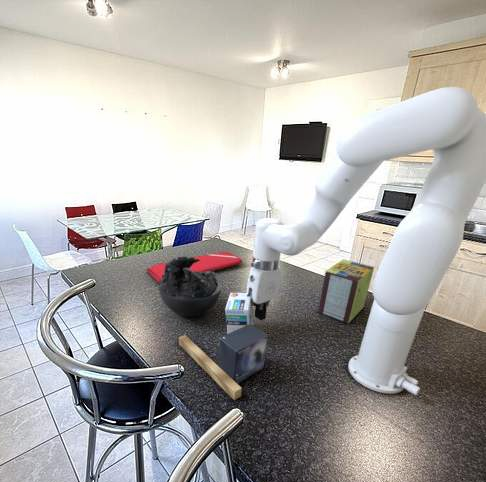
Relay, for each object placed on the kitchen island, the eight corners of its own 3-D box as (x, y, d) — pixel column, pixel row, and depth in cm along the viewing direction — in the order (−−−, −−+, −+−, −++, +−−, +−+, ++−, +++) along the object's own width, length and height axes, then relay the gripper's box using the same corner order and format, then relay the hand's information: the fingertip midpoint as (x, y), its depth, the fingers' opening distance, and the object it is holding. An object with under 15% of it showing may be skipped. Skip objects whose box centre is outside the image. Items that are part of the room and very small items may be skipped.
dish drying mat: (146, 271, 128) (146, 263, 127) (224, 256, 148) (224, 249, 146) (160, 285, 116) (159, 276, 114) (243, 266, 135) (243, 259, 134)
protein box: (364, 307, 103) (374, 266, 97) (348, 324, 93) (359, 280, 87) (334, 297, 110) (343, 258, 103) (316, 312, 99) (324, 270, 93)
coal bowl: (183, 292, 110) (182, 245, 103) (230, 307, 101) (233, 256, 94) (147, 317, 94) (143, 263, 87) (200, 336, 85) (200, 278, 78)
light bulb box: (251, 343, 82) (249, 310, 77) (227, 342, 83) (224, 309, 79) (253, 322, 91) (252, 292, 87) (232, 322, 93) (229, 292, 88)
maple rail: (241, 396, 65) (241, 388, 64) (234, 400, 64) (234, 392, 63) (185, 342, 83) (185, 334, 82) (179, 344, 82) (178, 337, 81)
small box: (234, 388, 67) (236, 351, 63) (216, 372, 72) (217, 337, 68) (265, 369, 73) (269, 334, 69) (246, 355, 78) (249, 322, 74)
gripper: (255, 273, 76) (250, 331, 83) (293, 261, 84) (285, 316, 91) (237, 263, 81) (233, 319, 89) (274, 254, 90) (268, 306, 97)
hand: (259, 317), depth 90 cm, fingers closed
